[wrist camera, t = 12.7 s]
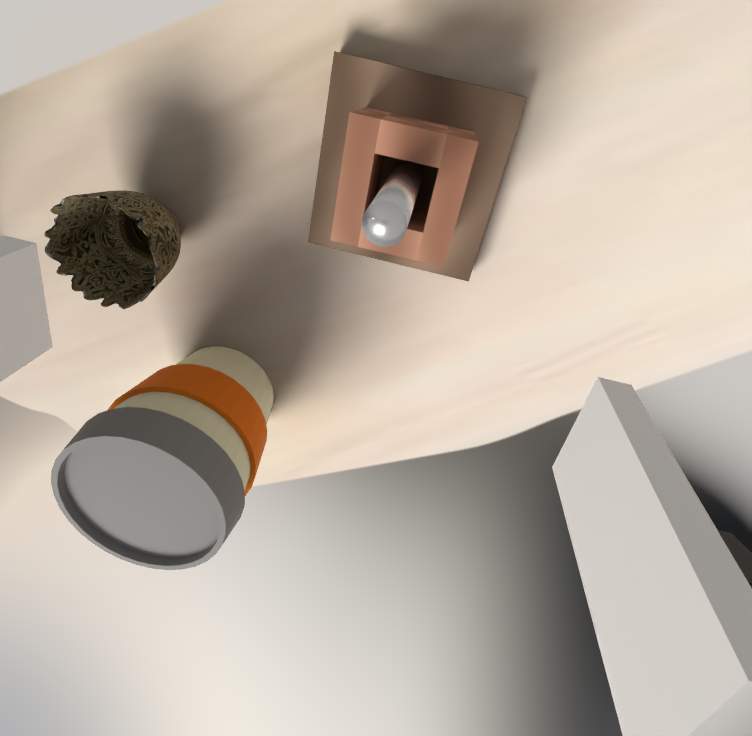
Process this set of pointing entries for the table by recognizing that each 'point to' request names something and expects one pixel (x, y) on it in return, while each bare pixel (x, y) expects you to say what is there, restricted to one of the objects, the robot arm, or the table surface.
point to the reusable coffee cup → (169, 461)
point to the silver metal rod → (393, 206)
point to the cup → (114, 245)
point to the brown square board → (430, 103)
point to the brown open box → (411, 143)
